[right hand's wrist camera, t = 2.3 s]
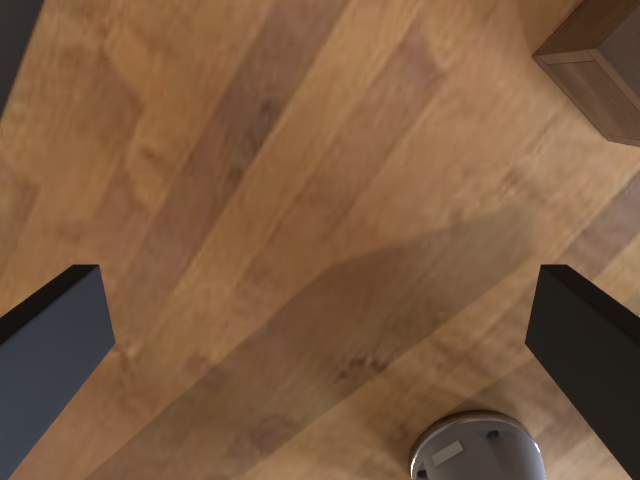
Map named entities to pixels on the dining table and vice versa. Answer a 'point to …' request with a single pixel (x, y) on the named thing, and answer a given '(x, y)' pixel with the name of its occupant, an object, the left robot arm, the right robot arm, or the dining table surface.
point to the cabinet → (599, 65)
